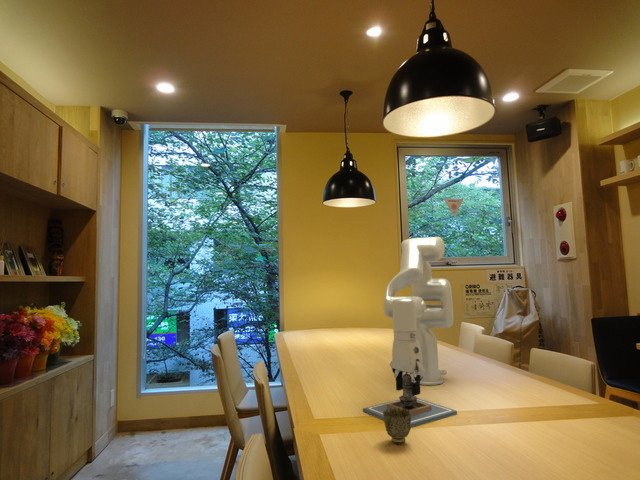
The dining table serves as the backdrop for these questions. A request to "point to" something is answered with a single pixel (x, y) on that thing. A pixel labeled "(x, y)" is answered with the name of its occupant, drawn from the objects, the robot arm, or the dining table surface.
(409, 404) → the dark grey chess piece
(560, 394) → the dining table surface
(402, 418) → the cup
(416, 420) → the board
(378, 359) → the dining table surface
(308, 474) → the dining table surface
